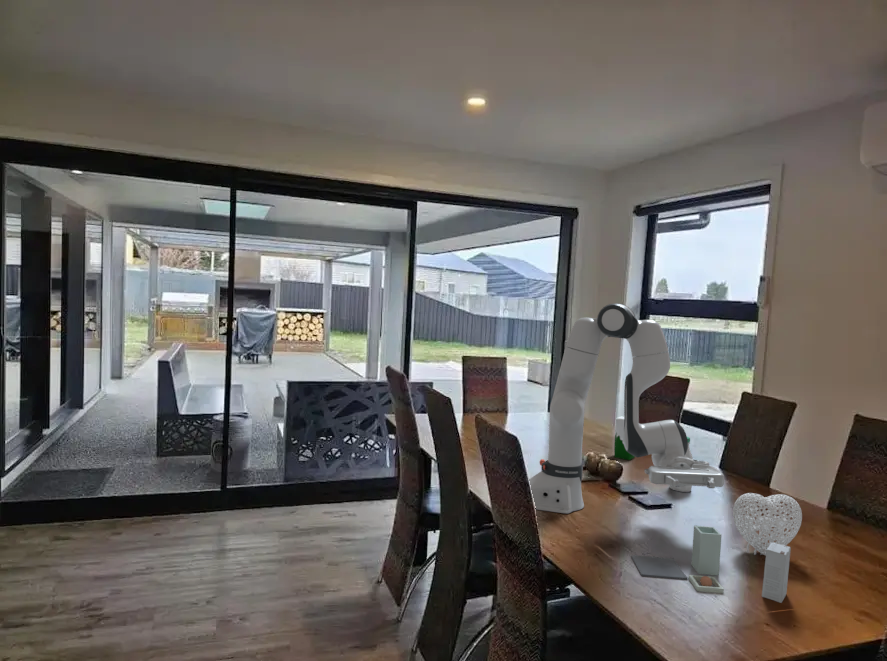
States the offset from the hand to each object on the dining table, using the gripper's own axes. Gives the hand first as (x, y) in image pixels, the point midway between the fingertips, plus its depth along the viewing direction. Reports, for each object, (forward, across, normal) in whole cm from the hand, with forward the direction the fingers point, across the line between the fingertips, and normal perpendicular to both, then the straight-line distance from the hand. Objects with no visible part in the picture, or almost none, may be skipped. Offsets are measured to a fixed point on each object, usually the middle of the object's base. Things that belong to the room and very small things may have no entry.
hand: (694, 484), depth 157 cm
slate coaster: (+13, -13, +19) cm, 26 cm away
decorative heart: (-2, +20, +20) cm, 28 cm away
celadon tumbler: (+12, -1, +19) cm, 22 cm away
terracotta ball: (+21, -4, +19) cm, 28 cm away
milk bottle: (-58, +15, +19) cm, 63 cm away
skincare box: (+23, +11, +20) cm, 32 cm away
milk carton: (-101, +4, +19) cm, 103 cm away
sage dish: (+21, -4, +19) cm, 29 cm away
